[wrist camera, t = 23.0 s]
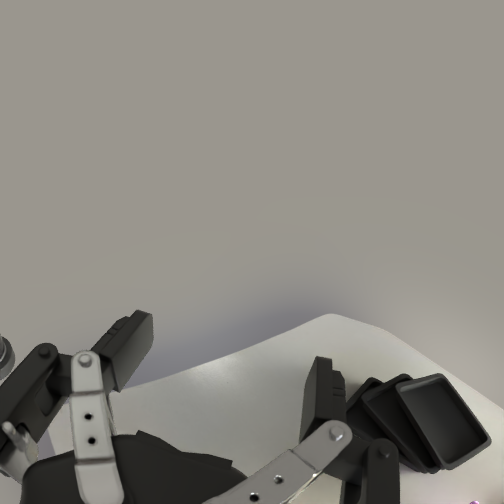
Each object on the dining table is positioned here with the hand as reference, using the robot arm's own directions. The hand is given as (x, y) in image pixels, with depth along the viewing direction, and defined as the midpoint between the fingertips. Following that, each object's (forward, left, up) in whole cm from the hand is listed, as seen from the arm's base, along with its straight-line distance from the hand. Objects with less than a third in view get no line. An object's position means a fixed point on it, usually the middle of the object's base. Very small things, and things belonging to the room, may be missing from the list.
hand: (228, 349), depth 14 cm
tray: (+30, -23, -31) cm, 49 cm away
